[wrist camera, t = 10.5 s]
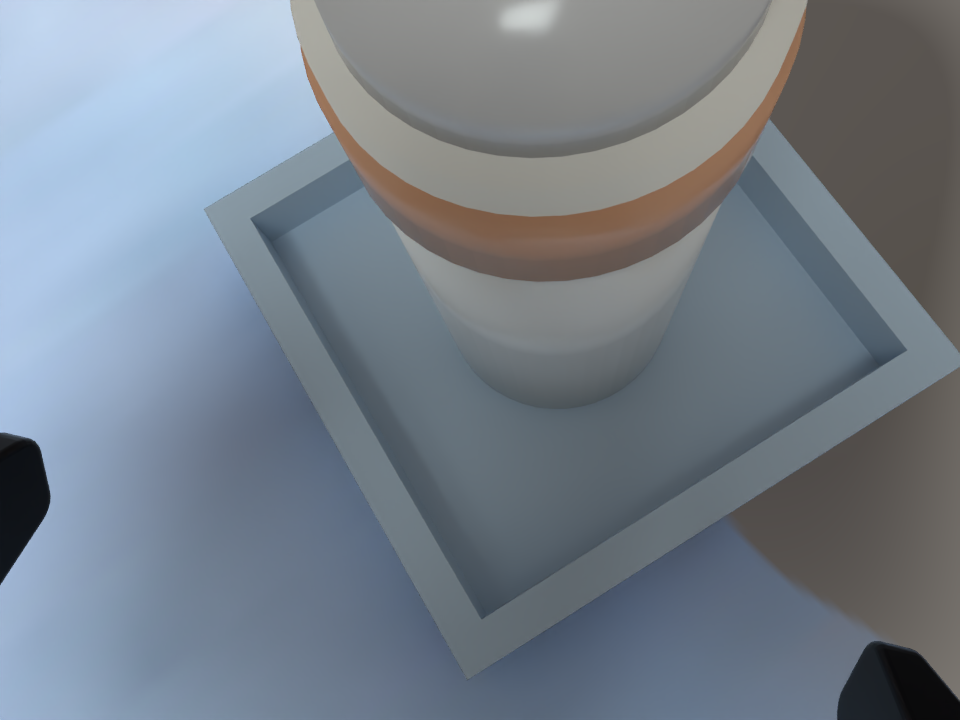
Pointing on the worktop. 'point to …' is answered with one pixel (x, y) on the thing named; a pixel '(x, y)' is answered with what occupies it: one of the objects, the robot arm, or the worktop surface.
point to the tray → (587, 429)
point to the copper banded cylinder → (550, 161)
